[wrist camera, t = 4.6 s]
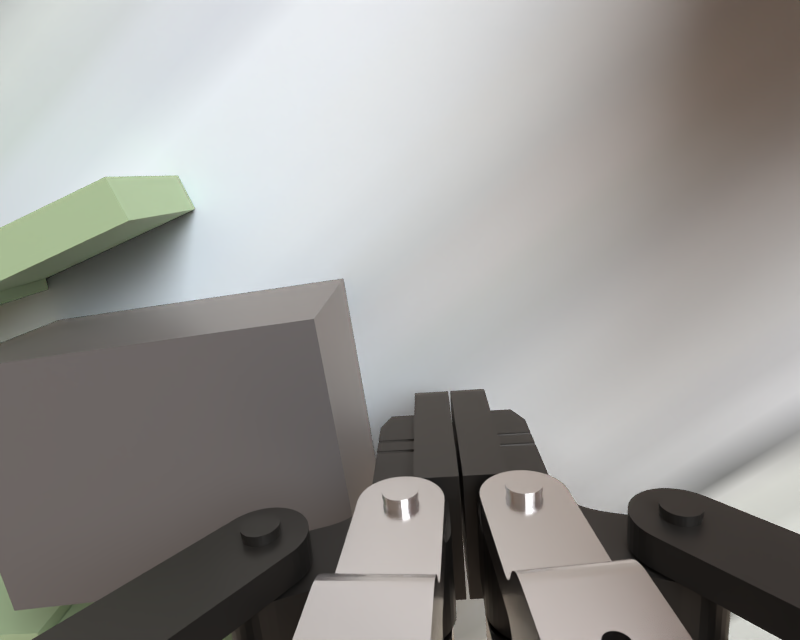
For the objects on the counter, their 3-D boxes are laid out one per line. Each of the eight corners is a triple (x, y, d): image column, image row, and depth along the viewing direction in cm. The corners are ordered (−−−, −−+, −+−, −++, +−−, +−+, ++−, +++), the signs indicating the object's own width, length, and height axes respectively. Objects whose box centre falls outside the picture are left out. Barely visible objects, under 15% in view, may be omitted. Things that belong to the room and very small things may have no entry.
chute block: (344, 276, 13) (313, 318, 9) (378, 466, 14) (363, 572, 11) (64, 317, 14) (-76, 373, 10) (119, 497, 15) (14, 610, 11)
